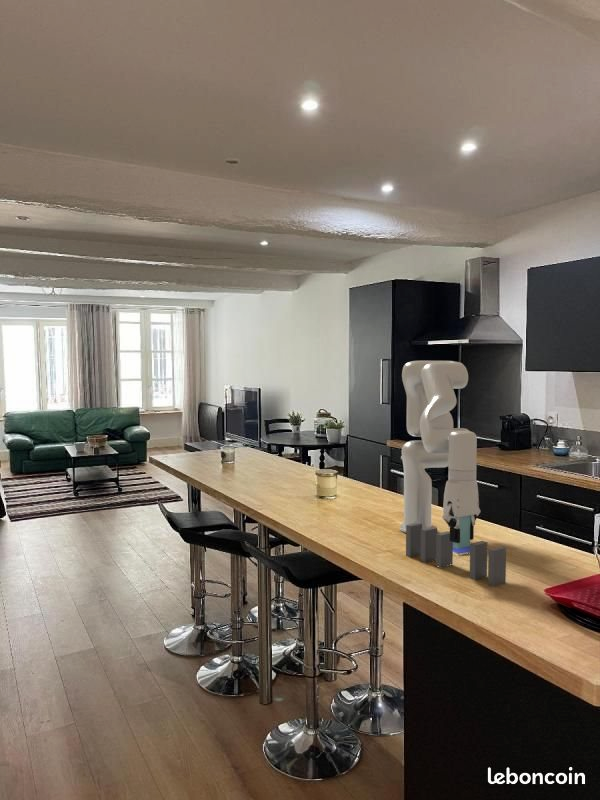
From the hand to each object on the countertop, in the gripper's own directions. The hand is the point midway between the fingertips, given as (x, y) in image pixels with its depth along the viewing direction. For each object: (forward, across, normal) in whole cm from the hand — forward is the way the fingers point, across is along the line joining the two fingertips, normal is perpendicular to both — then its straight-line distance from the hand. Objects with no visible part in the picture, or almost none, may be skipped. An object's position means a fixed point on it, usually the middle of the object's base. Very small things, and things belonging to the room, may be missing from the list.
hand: (461, 539), depth 169 cm
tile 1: (+9, 0, -18) cm, 20 cm away
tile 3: (+9, 0, -6) cm, 11 cm away
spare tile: (+2, 0, 0) cm, 2 cm away
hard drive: (+10, -17, -15) cm, 24 cm away
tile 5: (+9, 0, +6) cm, 11 cm away
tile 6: (+9, 0, +12) cm, 15 cm away
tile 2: (+9, 0, -12) cm, 15 cm away
